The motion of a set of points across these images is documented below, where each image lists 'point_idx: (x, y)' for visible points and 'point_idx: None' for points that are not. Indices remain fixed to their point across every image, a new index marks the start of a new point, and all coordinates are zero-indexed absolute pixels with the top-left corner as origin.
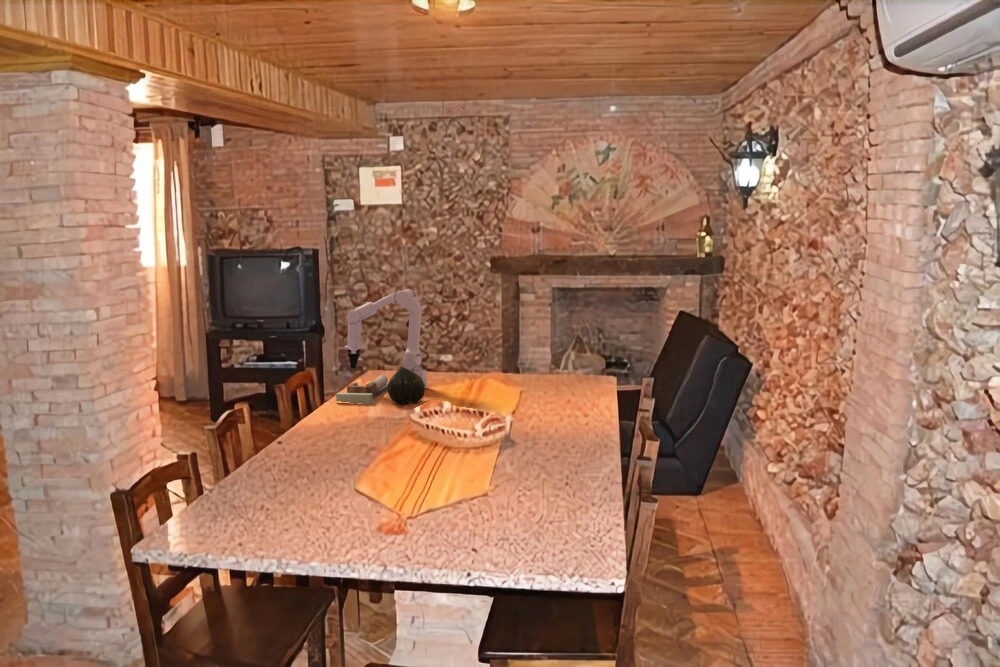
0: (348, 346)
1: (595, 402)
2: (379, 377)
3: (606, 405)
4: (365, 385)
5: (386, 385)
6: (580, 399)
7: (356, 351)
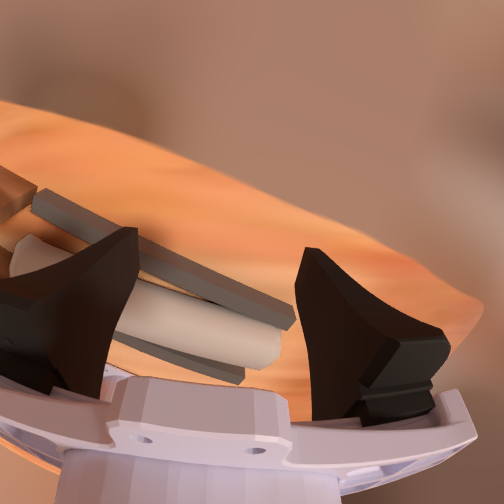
0: (92, 458)
1: (45, 466)
2: (196, 346)
3: (35, 463)
4: (151, 257)
5: (128, 339)
6: (56, 468)
7: (325, 406)
